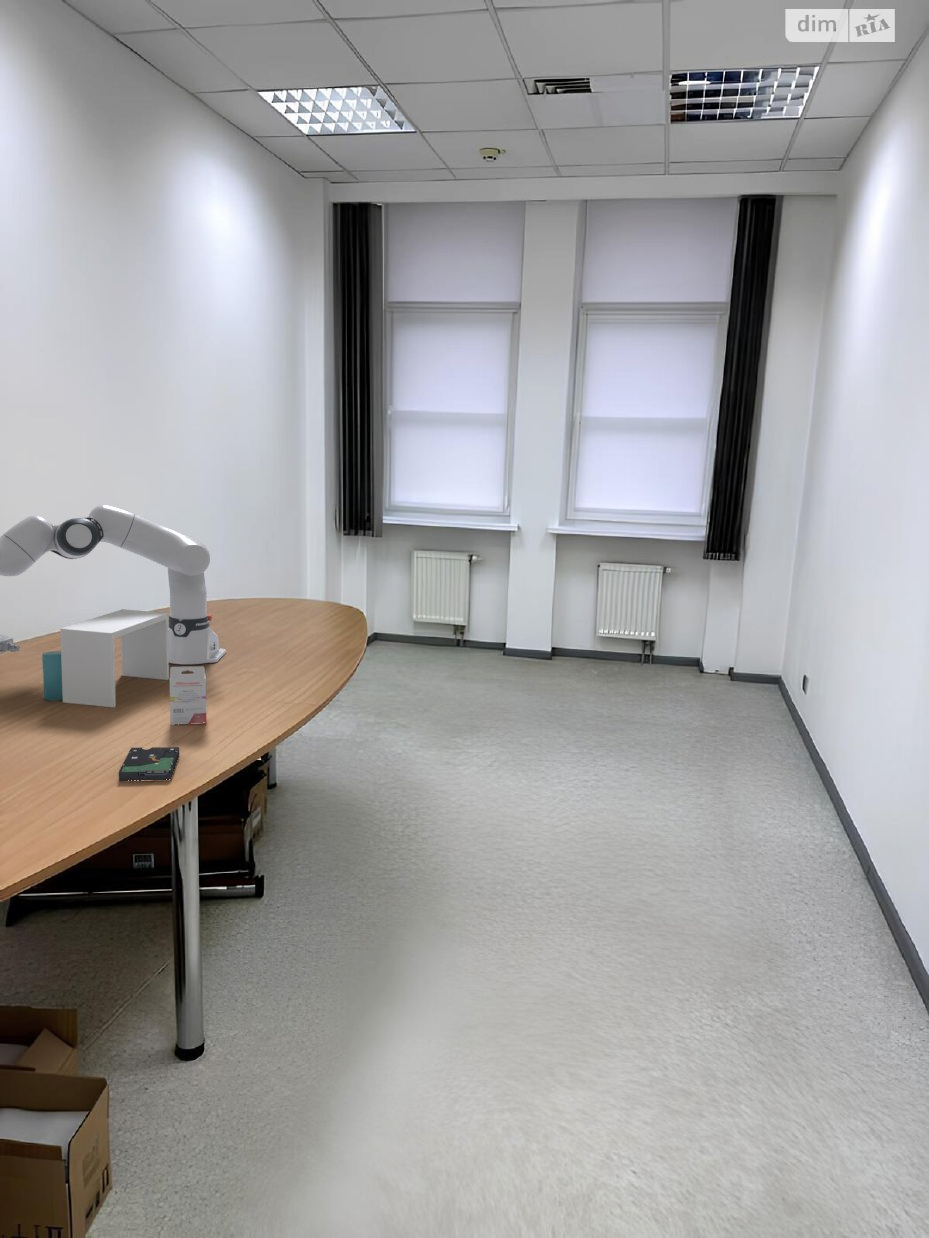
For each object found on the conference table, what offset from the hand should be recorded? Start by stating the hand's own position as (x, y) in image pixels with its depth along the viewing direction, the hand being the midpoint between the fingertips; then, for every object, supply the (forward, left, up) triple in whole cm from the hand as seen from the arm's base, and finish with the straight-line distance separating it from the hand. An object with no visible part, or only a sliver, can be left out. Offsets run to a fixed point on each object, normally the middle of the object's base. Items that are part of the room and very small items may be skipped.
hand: (6, 652), depth 225 cm
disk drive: (+39, +61, -12) cm, 74 cm away
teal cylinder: (0, +14, -11) cm, 17 cm away
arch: (-12, +25, -11) cm, 30 cm away
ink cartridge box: (+8, +55, -11) cm, 56 cm away
